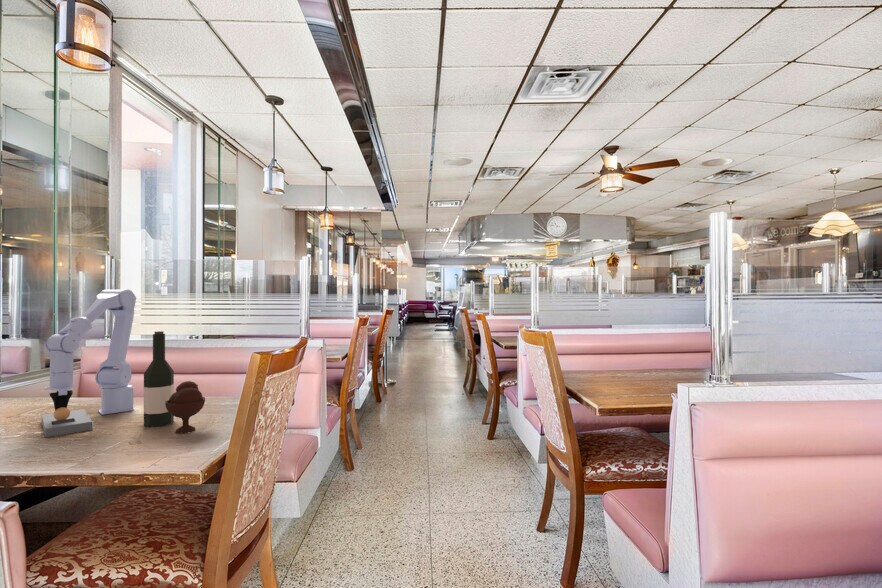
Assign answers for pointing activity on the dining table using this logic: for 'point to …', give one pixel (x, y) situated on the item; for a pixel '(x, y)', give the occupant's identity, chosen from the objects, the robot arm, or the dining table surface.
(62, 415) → the ball
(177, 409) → the ice cream bowl
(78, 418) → the board
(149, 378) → the wine bottle
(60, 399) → the robot arm
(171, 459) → the dining table surface
